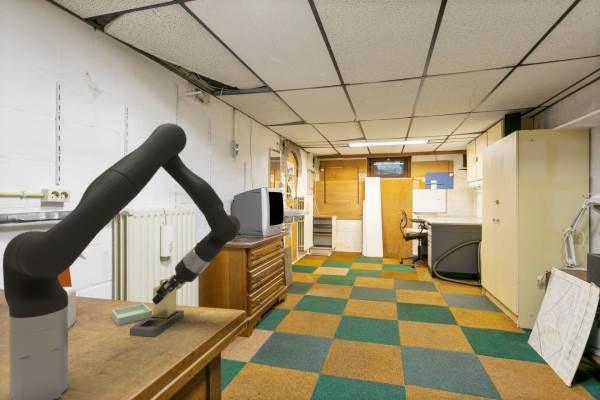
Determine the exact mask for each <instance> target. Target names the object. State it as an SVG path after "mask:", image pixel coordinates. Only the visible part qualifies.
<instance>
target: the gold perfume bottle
mask: <svg viewBox="0 0 600 400" xmlns="http://www.w3.org/2000/svg"><path fill="white" fill-rule="evenodd" d="M169 279H170V278H169ZM169 279H168V278H167V279H166V278H165V279H160V280H159V285H157V286H155V287H153V288H152V290H153V291H152V292H153V293H152V294H153V296H152V297H153V298H154V297H155V296H156V295H157V293H156V292H157V290H158V289H159V288H160V287H161V285H162V284H163V283H164V282H165V281H166V280H167V281H168V280H169ZM171 290H172V288H171ZM153 298H152V299H153ZM152 303H153V305H152V306H153V307H152V308H153V309H152V315H153V318H158V319H169V318H171V317H172V316H174V315H175V314H176V310H177V291H176V289H175V290H174V291H173V292H171V293H168V294H167V295H166V296H165V297H164V298H163V299H162V300H161V301H160V302H159V303H158V304H155V303H154V302H153V301H152Z"/></svg>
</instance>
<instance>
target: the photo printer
mask: <svg viewBox="0 0 600 400" xmlns="http://www.w3.org/2000/svg"><path fill="white" fill-rule="evenodd" d="M63 288H64V289H65V290H66V292H67V294H68V329H69V328H71V327H72V326H73V325H74V323H75V322H76V320H77V296H76V295H77V292H76V289H75V288H74V287H73V286H72V287H63Z"/></svg>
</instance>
